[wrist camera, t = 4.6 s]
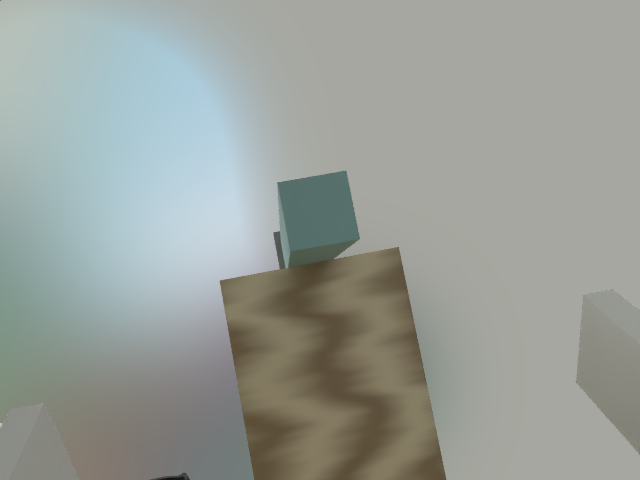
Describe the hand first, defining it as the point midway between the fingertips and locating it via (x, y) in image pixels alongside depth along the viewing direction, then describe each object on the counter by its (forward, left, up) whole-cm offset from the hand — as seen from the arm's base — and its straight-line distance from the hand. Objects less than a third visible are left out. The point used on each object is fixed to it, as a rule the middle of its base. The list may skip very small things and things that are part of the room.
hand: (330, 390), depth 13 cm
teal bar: (+1, +24, +4) cm, 25 cm away
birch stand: (+1, +31, -26) cm, 41 cm away
